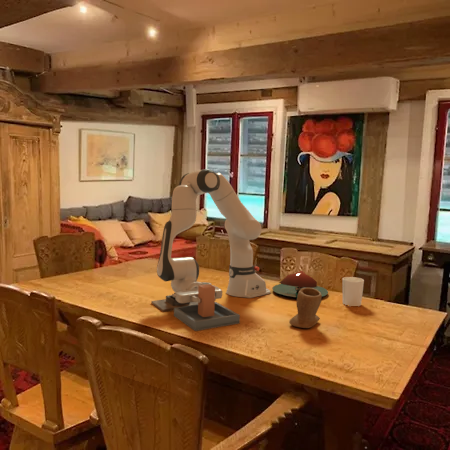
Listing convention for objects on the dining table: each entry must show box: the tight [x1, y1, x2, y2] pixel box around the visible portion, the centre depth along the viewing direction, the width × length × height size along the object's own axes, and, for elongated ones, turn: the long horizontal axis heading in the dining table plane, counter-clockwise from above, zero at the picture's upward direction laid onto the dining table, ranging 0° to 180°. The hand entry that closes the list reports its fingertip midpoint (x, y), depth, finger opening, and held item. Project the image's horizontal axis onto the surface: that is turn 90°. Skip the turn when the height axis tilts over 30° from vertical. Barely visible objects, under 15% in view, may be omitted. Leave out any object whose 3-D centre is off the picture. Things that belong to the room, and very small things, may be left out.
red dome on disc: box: [272, 270, 329, 298], centre depth 236 cm, size 28×28×11 cm
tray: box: [173, 301, 241, 332], centre depth 192 cm, size 20×20×4 cm
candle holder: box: [342, 276, 365, 307], centre depth 219 cm, size 10×10×12 cm
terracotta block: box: [198, 284, 216, 317], centre depth 191 cm, size 5×5×12 cm
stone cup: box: [288, 288, 323, 329], centre depth 189 cm, size 15×12×15 cm
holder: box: [150, 294, 198, 313], centre depth 212 cm, size 20×14×4 cm
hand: (207, 299), depth 191 cm, fingers closed on terracotta block, 5 cm apart
